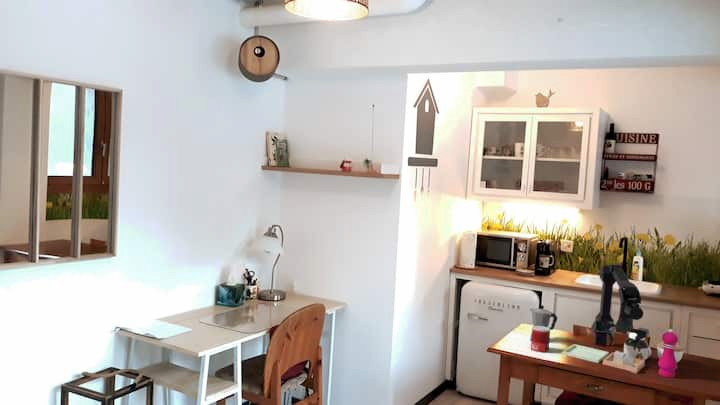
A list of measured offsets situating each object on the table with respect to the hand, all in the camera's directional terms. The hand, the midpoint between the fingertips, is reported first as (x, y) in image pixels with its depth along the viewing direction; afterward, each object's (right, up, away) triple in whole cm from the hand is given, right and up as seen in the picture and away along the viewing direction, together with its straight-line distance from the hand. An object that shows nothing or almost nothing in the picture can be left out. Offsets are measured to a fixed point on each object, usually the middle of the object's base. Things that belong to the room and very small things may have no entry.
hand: (623, 347), depth 267 cm
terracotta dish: (-1, -8, -2) cm, 8 cm away
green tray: (-13, -6, +10) cm, 17 cm away
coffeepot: (-28, -4, +28) cm, 40 cm away
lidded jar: (+24, -9, +7) cm, 26 cm away
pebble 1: (-1, -7, +2) cm, 7 cm away
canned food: (-34, -5, +13) cm, 36 cm away
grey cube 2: (0, -7, -5) cm, 9 cm away
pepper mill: (+14, -9, -10) cm, 20 cm away
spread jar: (+10, -8, +9) cm, 16 cm away
